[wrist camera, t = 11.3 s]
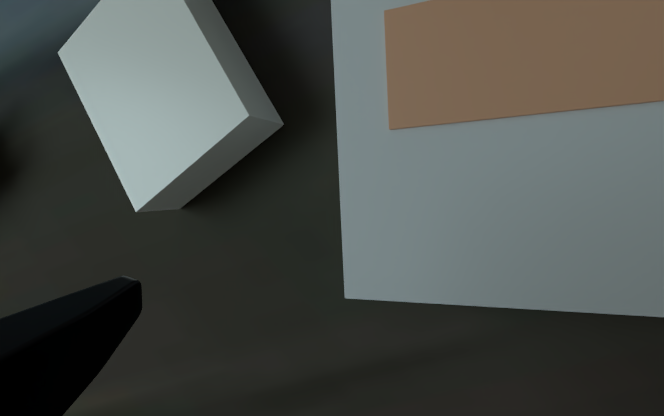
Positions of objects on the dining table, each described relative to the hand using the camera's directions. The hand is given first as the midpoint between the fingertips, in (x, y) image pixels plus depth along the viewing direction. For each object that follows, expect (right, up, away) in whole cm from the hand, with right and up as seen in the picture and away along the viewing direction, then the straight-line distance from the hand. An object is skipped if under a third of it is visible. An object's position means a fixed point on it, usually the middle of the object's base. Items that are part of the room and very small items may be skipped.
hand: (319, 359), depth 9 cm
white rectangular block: (-8, +10, +14) cm, 18 cm away
